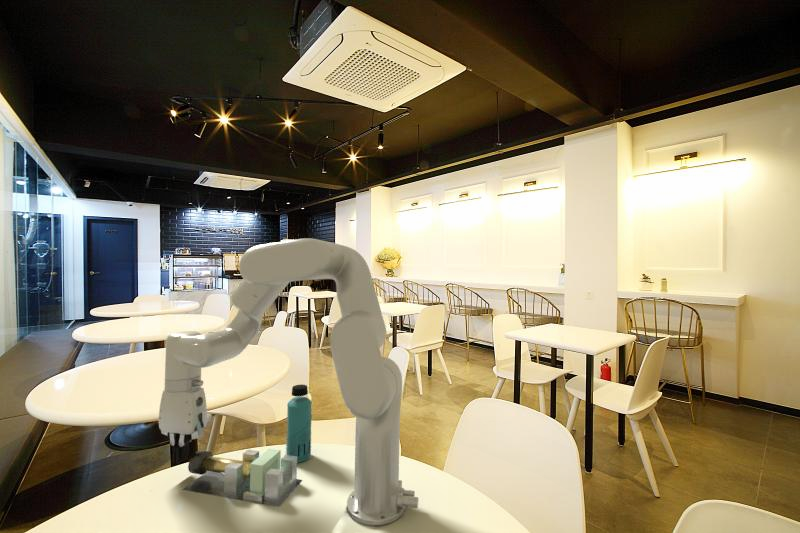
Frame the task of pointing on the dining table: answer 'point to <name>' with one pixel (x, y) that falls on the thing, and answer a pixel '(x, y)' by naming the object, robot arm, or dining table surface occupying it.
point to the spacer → (263, 469)
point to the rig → (238, 487)
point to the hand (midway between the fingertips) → (180, 460)
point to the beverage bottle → (299, 424)
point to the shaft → (213, 464)
